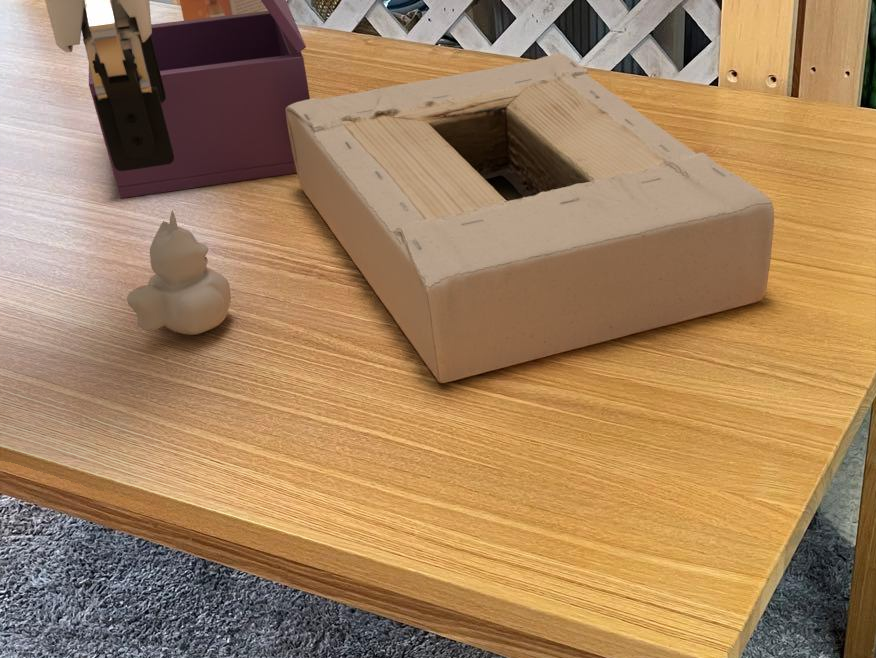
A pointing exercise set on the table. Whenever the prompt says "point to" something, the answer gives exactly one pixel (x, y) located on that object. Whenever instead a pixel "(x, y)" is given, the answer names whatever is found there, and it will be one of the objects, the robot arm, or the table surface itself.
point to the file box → (221, 102)
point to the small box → (218, 8)
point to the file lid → (285, 22)
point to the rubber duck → (180, 285)
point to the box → (526, 213)
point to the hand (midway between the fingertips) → (142, 133)
